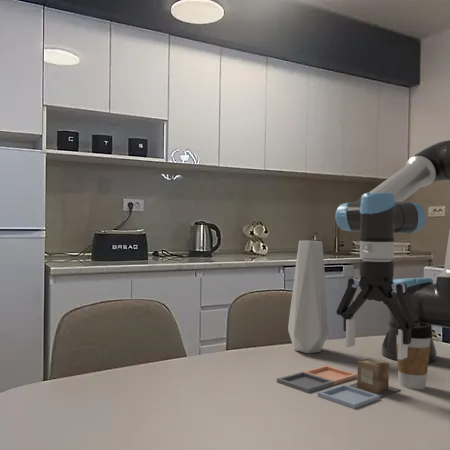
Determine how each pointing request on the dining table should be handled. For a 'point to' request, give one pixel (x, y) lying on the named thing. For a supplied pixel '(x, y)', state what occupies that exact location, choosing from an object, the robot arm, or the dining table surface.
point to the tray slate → (348, 396)
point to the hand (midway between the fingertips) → (375, 352)
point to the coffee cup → (415, 357)
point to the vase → (309, 300)
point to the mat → (382, 393)
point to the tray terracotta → (332, 374)
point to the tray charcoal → (305, 382)
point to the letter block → (373, 375)
